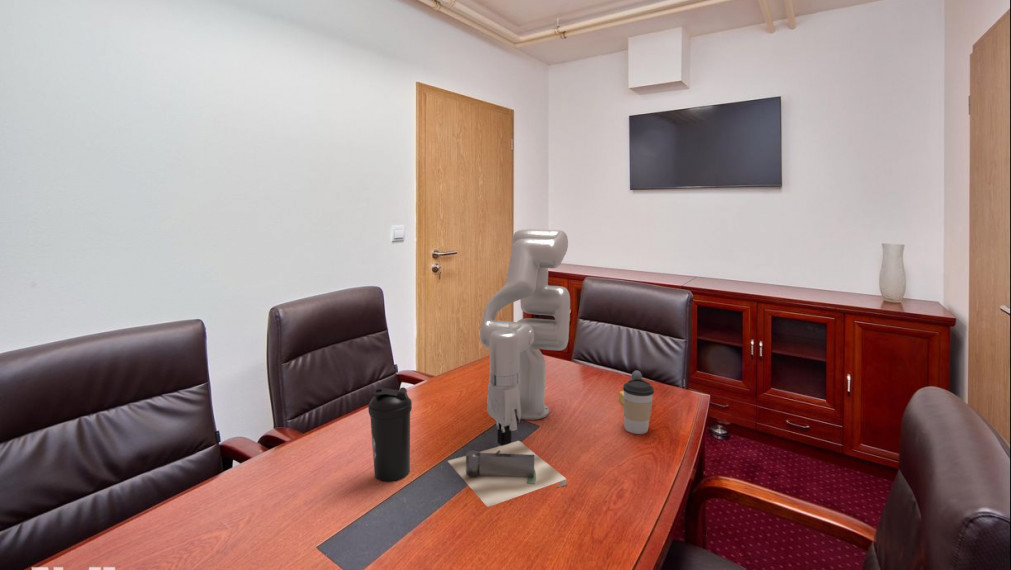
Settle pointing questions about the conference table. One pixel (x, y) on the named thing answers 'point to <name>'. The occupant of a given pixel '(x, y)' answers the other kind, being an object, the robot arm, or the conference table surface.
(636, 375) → the rubber stamp
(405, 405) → the water bottle
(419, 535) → the conference table surface
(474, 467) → the pointer lever
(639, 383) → the coffee cup
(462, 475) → the dial plate
